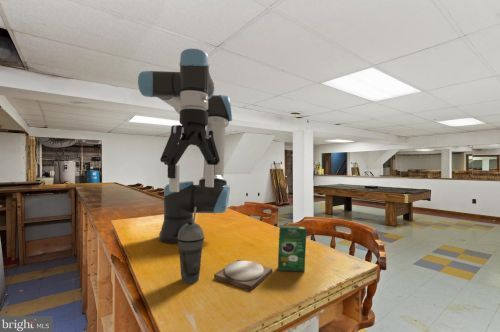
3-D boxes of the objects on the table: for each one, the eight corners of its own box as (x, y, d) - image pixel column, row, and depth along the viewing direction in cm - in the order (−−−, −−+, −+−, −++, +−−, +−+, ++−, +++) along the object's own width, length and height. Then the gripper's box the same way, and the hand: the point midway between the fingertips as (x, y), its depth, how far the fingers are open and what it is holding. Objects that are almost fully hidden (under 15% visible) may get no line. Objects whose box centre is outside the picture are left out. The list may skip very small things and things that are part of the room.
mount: (214, 278, 69) (214, 271, 69) (238, 263, 79) (238, 257, 79) (251, 290, 63) (251, 283, 63) (272, 272, 73) (272, 265, 73)
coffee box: (304, 268, 76) (305, 225, 76) (305, 272, 74) (306, 228, 73) (277, 267, 77) (278, 224, 77) (278, 271, 74) (279, 227, 74)
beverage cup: (179, 274, 71) (180, 204, 71) (205, 273, 72) (206, 204, 71) (173, 287, 64) (174, 209, 63) (202, 286, 64) (203, 209, 64)
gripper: (167, 98, 54) (166, 195, 55) (231, 116, 76) (230, 186, 76) (144, 102, 58) (144, 192, 59) (212, 118, 80) (211, 184, 80)
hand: (193, 189), depth 67 cm, fingers open, 13 cm apart
